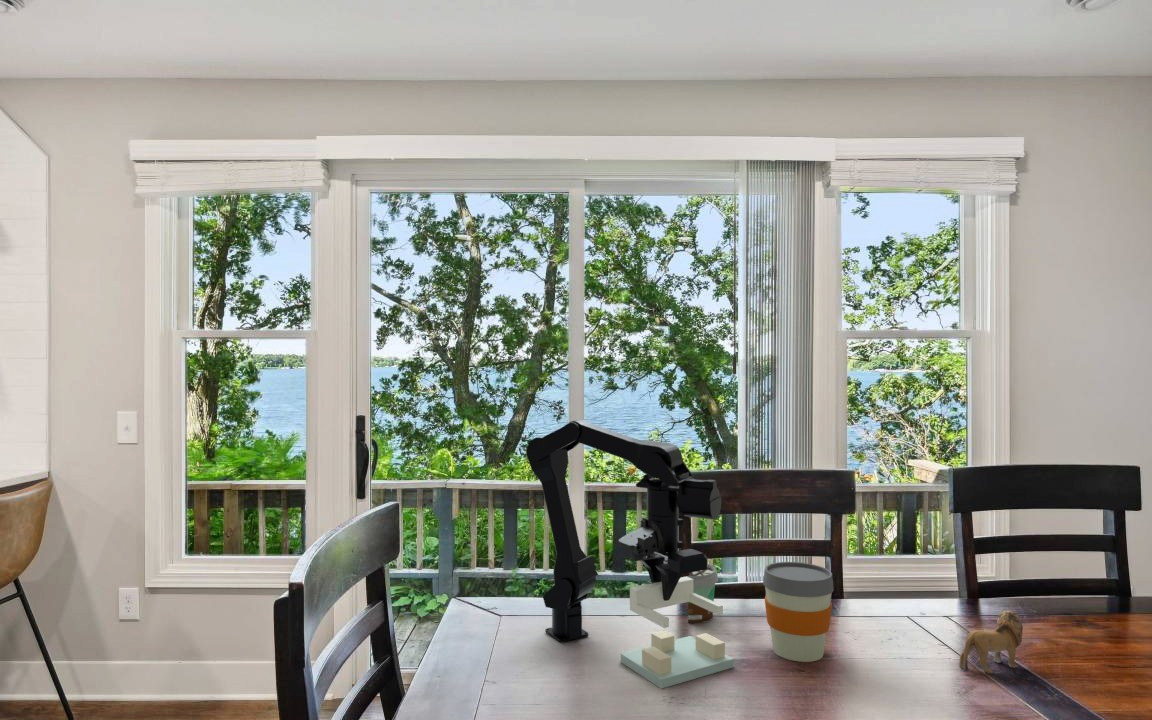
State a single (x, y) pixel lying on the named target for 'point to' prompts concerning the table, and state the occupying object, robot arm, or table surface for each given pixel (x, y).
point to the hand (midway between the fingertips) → (662, 598)
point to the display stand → (678, 658)
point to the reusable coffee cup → (798, 608)
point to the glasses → (652, 598)
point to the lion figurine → (995, 641)
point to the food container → (702, 593)
